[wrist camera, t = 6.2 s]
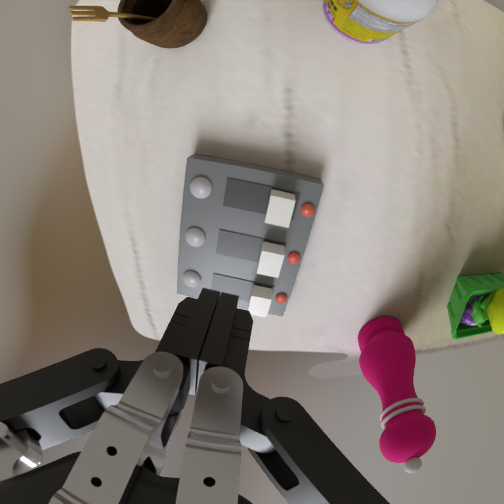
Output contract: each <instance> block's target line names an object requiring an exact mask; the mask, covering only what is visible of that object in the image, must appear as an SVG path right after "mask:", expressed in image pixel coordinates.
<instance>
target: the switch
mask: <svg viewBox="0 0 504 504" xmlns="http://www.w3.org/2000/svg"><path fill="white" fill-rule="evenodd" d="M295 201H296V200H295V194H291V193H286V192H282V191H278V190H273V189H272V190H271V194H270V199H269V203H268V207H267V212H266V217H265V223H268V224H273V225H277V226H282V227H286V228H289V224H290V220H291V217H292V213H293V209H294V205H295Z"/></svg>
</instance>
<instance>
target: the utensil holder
mask: <svg viewBox="0 0 504 504" xmlns="http://www.w3.org/2000/svg"><path fill="white" fill-rule="evenodd" d="M68 9H70V10H90V11H71V12H70V14H71V15H88V17H73V18H72V20H73V21H102V22H104V21H106V20H107V19H108V17H118V19H119V21H120V23H121V24H122V25H123V26H124V27H125V28H126V29H128V30H130V31H131V32H132V33H133V34H134V35H135V36H136V37H138V38H140V39H142V40H144V41H146V42H149V43H151V44H154V45H156V46H159V47H163V48H178V47H181V46H184V45H187V44H189V43H190V42H192V41H193V40H195V39H196V38H197V37H198V36H199V35H200V34H201V32H202V31H203V29H204V27H205V24H206V20H207V14H206V10H205V8H204V6H203V4H202V3H201V2H200V0H121V1H120V3H119V6H118V13H116V12H108V11H107V10H106V9H105V8H104V7H102V6H69V7H68Z"/></svg>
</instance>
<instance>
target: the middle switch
mask: <svg viewBox="0 0 504 504" xmlns="http://www.w3.org/2000/svg"><path fill="white" fill-rule="evenodd" d="M284 256H285V246H282V245H278V244H273V243H268V242H264V241H263V245H262V249H261V253H260V257H259V262H258V267H257V274H261V275H266V276H271V277H275V278H278V277H279V273H280V270H281V266H282V263H283V259H284Z"/></svg>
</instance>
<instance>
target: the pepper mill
mask: <svg viewBox="0 0 504 504" xmlns="http://www.w3.org/2000/svg"><path fill="white" fill-rule="evenodd" d="M358 342H359V347H360V350H361V355H360V358H359V364H360V368H361V370H362V373H363V375H364V377H365V378H366V380H367V381H368V382H369V383H370V384H371V385H372V386H373V387H374V388H375V389H376V391H377V392H378V394H379V395H380V398H381V402H382V407H383V412H382V413H381V415H380V420H381V421H382V422H381V427H382V428H383V429H385V430H384V431H383V433H382V435H381V437H380V440H379V444H380V450H381V452H382V454H383V456H384V457H385V458H386V459H387V460H389V461H391V462H395V463H404V462H405V465H404V469H405V471H406V472H408V473H414V472H416V471H418V470H419V469H420V467H421V465H422V462H421V459H419V457H421V456H422V455H424V454H425V453H426V452H427V451H428V450H429V449H430V448H431V446H432V445H433V443H434V440H435V436H436V428H435V424H434V422H433V420H431V418H430V417H428V416H426V415H424V413H425V407H424V406H423V405H424V402H423V400H422V399H420V398H418V397H417V395H416V393H415V389H414V385H413V376H414V368H415V360H416V359H415V349H414V345H413V342H412V341H411V339H410V338H409V337H407V336H406V335H404V330H403V328H402V325H401V323H400V321H399V320H397V319H396V318H394V317H389V316H384V317H379V318H376V319H373V320H372V321H370V322H368V323H367V324H366V325H365V326H364V327H363V328H362V329H361V331H360V332H359V335H358Z"/></svg>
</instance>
